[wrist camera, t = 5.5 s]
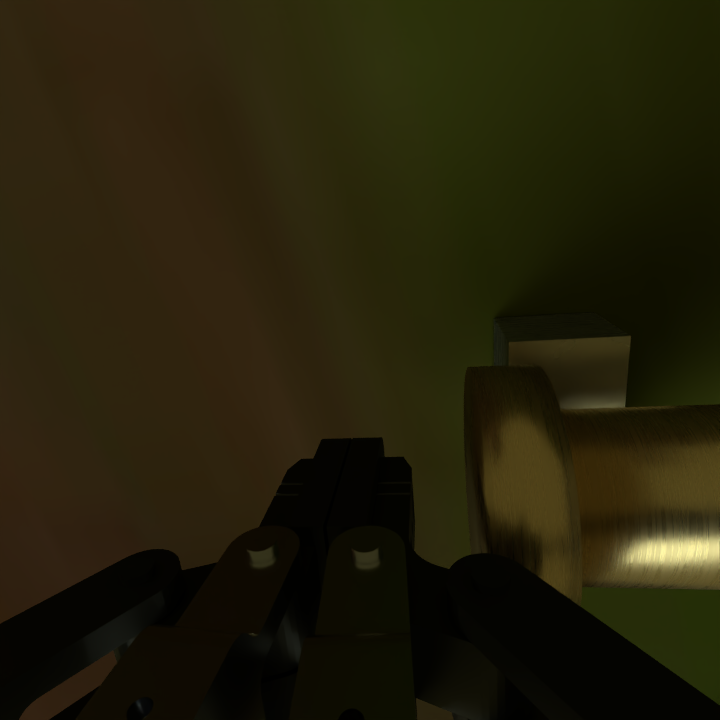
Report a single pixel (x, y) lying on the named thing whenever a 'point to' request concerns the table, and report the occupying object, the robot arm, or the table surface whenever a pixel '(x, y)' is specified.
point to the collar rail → (569, 355)
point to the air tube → (591, 485)
